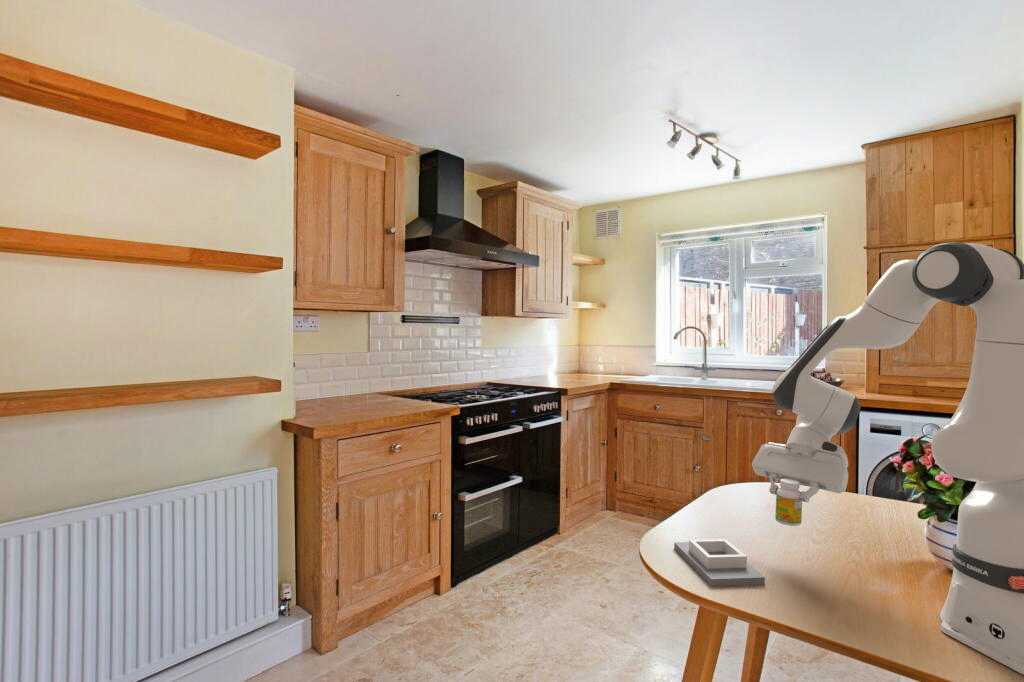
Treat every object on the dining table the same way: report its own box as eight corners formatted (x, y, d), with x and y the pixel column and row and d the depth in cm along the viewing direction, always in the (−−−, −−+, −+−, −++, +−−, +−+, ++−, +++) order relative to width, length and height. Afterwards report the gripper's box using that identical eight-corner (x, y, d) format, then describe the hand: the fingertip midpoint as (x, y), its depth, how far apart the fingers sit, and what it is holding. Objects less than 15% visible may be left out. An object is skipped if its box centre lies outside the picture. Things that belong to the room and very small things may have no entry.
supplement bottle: (769, 519, 125) (771, 478, 125) (786, 516, 127) (787, 476, 127) (790, 528, 120) (791, 485, 120) (806, 524, 122) (808, 483, 122)
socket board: (764, 584, 112) (765, 565, 112) (710, 586, 111) (711, 567, 110) (721, 547, 130) (721, 531, 130) (674, 548, 129) (674, 532, 128)
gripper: (759, 433, 136) (739, 478, 129) (850, 449, 120) (833, 500, 114) (766, 448, 139) (747, 493, 132) (856, 465, 123) (839, 516, 117)
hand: (788, 496), depth 123 cm, fingers closed on supplement bottle, 5 cm apart
